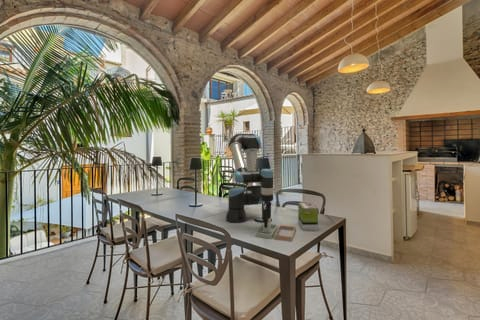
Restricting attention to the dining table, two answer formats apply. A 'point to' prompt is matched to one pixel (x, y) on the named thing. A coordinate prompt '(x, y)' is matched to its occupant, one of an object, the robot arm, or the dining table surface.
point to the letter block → (268, 225)
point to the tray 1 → (265, 233)
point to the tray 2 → (287, 238)
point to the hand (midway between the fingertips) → (267, 231)
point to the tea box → (308, 216)
